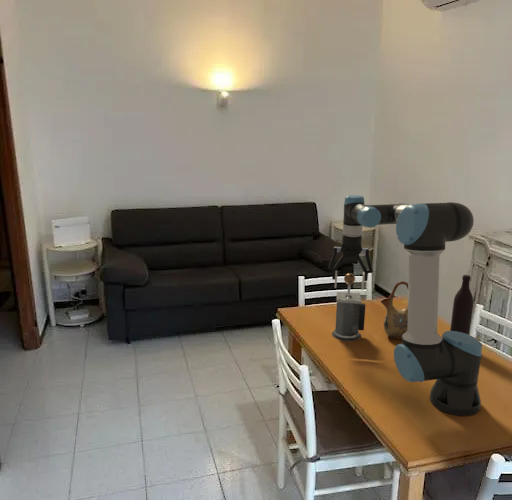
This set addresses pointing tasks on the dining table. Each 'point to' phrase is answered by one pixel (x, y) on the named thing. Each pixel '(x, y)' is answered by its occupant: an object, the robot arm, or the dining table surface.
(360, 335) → the trivet
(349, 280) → the plunger
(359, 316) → the french press
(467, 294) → the wine bottle
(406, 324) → the ceramic vessel
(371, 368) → the dining table surface
